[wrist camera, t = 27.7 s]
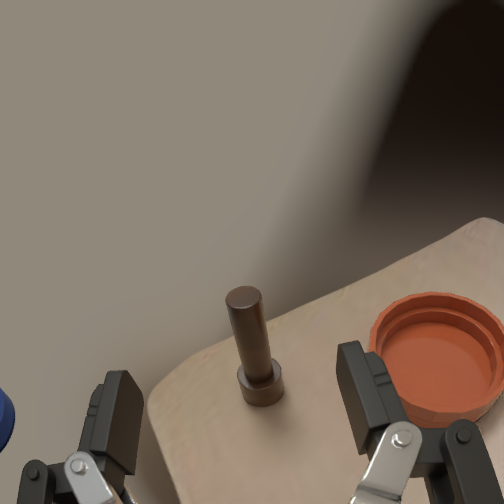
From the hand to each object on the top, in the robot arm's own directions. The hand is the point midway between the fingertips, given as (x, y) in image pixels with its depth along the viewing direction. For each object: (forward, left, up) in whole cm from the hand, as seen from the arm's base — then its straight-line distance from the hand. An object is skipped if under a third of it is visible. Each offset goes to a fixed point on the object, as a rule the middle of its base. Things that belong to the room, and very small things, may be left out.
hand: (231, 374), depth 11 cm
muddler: (-9, +6, -17) cm, 20 cm away
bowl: (+2, +20, -17) cm, 26 cm away
